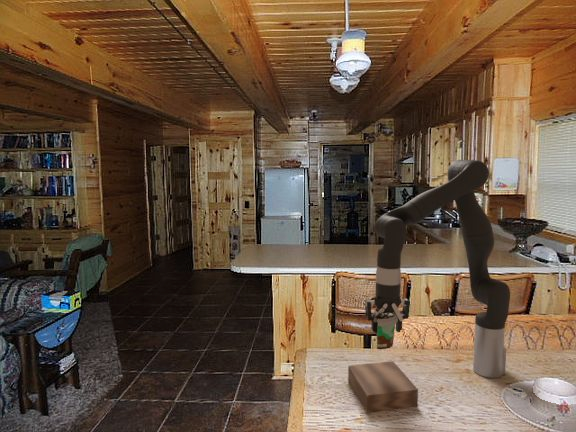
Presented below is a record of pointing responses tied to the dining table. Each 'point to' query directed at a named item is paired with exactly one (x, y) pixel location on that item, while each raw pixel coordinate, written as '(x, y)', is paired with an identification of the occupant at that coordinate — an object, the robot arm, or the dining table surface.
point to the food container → (386, 330)
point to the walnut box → (382, 387)
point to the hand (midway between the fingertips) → (386, 331)
